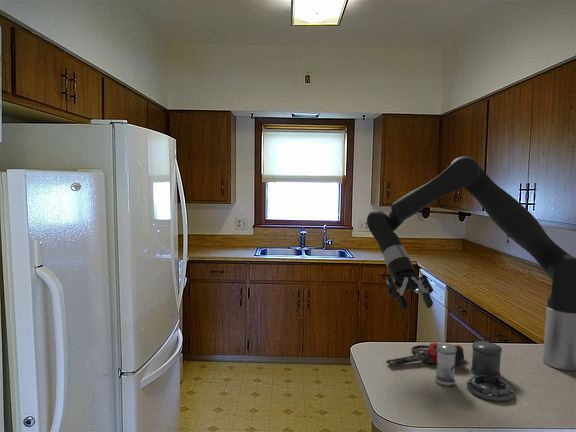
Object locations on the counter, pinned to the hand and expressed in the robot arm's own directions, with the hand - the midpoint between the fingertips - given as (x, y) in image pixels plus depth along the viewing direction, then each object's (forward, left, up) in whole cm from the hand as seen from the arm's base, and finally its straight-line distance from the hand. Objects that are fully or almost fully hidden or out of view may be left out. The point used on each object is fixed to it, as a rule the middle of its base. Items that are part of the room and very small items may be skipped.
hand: (418, 307), depth 123 cm
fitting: (0, +13, -17) cm, 21 cm away
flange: (-8, +20, -17) cm, 28 cm away
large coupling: (-15, +12, -17) cm, 25 cm away
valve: (-4, -2, -18) cm, 18 cm away
